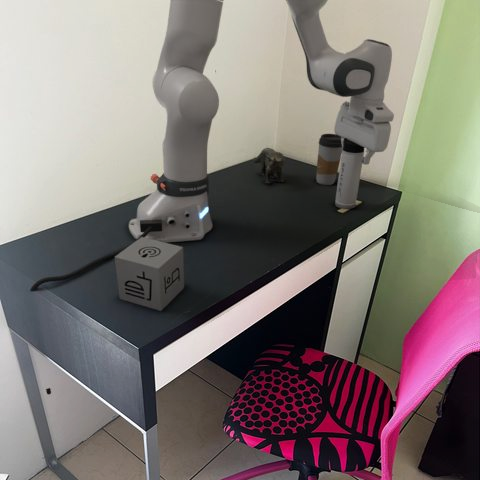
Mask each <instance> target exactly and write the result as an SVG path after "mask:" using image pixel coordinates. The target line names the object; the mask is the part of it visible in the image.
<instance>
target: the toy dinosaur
mask: <svg viewBox="0 0 480 480" xmlns="http://www.w3.org/2000/svg"><path fill="white" fill-rule="evenodd" d="M285 159H286V158H285V156H284V155H283V153H281V152H280V151H276V150H274V149H273V148H271V147H265V148H263V149H262V150H261V152H260V153H259V154H258V155H257V157H253V159H252V161H253V164H258V163H260V167H261V168H260V172H259V176H265V181H264V184H272V181H271V178H272V179H277V182H278V183H284V181H285V180H284V179H283V178H282V173H283V172H282V171H283V167H284V165H285V163H286V160H285ZM276 175H277V176H276Z"/></svg>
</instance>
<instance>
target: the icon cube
mask: <svg viewBox="0 0 480 480" xmlns="http://www.w3.org/2000/svg"><path fill="white" fill-rule="evenodd" d="M133 242H134V241H133ZM133 242H132V243H133ZM129 245H130V244H129ZM126 247H127V246H126ZM184 263H185V262H184V247H183V246H180V245H177V244H173V243H169V242H165V243H164V242H160V241H156V240H152V239H148V238H144V237H141V238H140V239H138V240H137V241H136V242H134V243H133V244H132V245H130V246H129V247H127V248H126V249H125V250H123V251H122V252H121V253H119V254H118V255H116V256H114V264H115V272H116V273H115V274H116V280H117V289H118V297H119V300H121V301H126V302H128V303H132V304H136V305H140V306H142V307H146V308H149V309H153V310H156V311H160V312H162V311H163V310H164V309H165V308H166V307H167V306H168V305H169V304H170V303H171V302H172V301H173V300H174V299H175V298H176V297H177V296H178V295H179V293H181V292H182V291H183V290H184V289H185V267H184V266H185V265H184Z"/></svg>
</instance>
